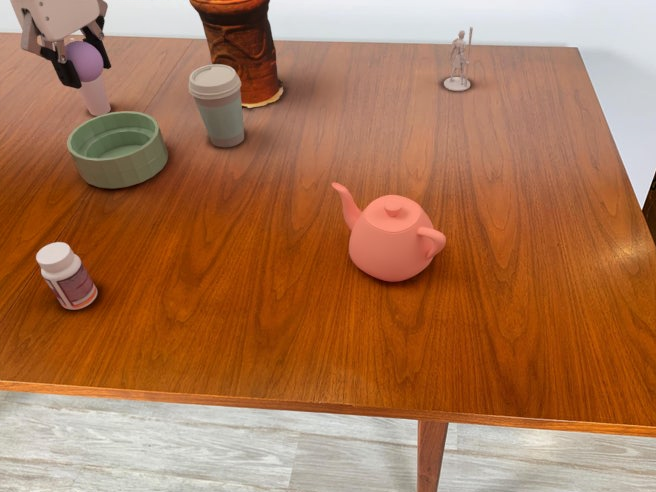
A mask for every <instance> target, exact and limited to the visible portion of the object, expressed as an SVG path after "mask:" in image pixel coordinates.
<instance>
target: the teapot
mask: <svg viewBox="0 0 656 492" xmlns="http://www.w3.org/2000/svg"><path fill="white" fill-rule="evenodd" d="M331 186H332V188H333V189H334V190H335V191H336V192H337V193H338V195H339V197H340V199H341V203H342V212H343V218H344V222H345V224H346V226H347V228H348V229H349V230H350V237H349V243H348V254H349V257H350V259H351V261H352V262H353V264H354V265H355V266H356V267H357V268H358V269H360V270H361V271H362V272H364V273H365V274H367V275H369V276H371V277H373V278H376V279H378V280H381V281H384V282H390V283H392V282H393V283H396V282H402V281H406V280H409V279H411V278H413V277H415V276H416V275H418V274H419V273H421V272H422V271H423V270H425V269H426V268H427V267H428V266H429V265H430V264H431V262H432V261H433V259H434V257H435V256H436V255H438V254H439V253H440V252H441V251H442V250H443V249H444V248H445V246H446V242H447V238H446V236H445V235H444V233H442V232H441V231H439V230H437V229H435V228H434V225H433V223H432V221H431V219H430V217H429V216H428V215H427V213H426V211H425V210H424V209H423V208H422V207H421V205H420V204H418V203H417V202H416V201H414V200H413V199H411V198H408V197H405V196H402V195H397V194H387V195H382V196H380V197H378V198H376V199H374V200H373V201H371V202H370V203H369V204H368V205H367V206H366V207H365V208H364V209H363V211H362V210H361V209H360V208H358V206H357V205H356V203H355V201H354V199H353V196H352V194H351V192H350V191H349V190H348V188H346V187H345V186H344V185H343V184H340V183H338V182H332V183H331Z"/></svg>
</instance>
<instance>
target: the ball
mask: <svg viewBox="0 0 656 492" xmlns="http://www.w3.org/2000/svg"><path fill="white" fill-rule="evenodd" d="M65 51H66V57H67V60H71V61H72V62H73V65H74V67H75V69H76V72H77V74H78V76H79V79H80V81H81V82H91V81H94V80H96V79H97V78H98V77H99V76H100V75H101V73H102V74H103V70H104V68H103V59H102V56H101V54H100V53H99V51H98V50H97V49H96V48H95V47H94V46H92V45H91V44H89V43H86V42H83V40H74V42H71V41H70V42H69V43H67V44H65Z"/></svg>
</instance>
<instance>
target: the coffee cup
mask: <svg viewBox="0 0 656 492" xmlns="http://www.w3.org/2000/svg"><path fill="white" fill-rule="evenodd" d="M188 81H189V82H188V92H189V93H190V95H192V97H193V100H194V102H195V104H196V107H197V109H198V112H199V114H200V117H201V119H202V122H203V125H204V126H205V129H206V132H207V134H208V136H209V139H210V141H211V143H212V144H213V145H214V146H216V147H218V148H231V147H235V146H237V145H240V144H241V143H242V142H243V141H244V139H245V129H244V117H243V115H244V114H243V106H242V104H241V93H240V87H241V81H240V78H239V76H238V75H237V74H236V72H235V70H234V69H233V68H232V67H230V66H227V65H221V64H214V65H213V64H207V65H204V66H201V67H198V68H196V69H195V70H193V71H192V72H191V73H190V75H189V77H188Z"/></svg>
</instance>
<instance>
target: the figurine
mask: <svg viewBox="0 0 656 492" xmlns="http://www.w3.org/2000/svg"><path fill="white" fill-rule="evenodd" d="M473 28H474V27H473V26H470V27H469V34H468V46H467V42H466V41H465V40H464V39H465V36H466V32H465V30H462V29H461V30H460V31H459V32H458V38H455V39H453V40H452V46H451V49H450V53H449V57H448V60H449V61H452V60H453V55H454V53H455V51H456V54H455V57H454V60H453V62H452V66H453V68H452V70H451V74H450V77H448V78H447V79H445V80H444V81H443V86H444V88H445V89H447V90H449V91H452V92H464V91H467V90H468V89H470V87H471V82H470V80H468V75H469V66H470V57H471V47H472V38H473ZM467 48H468V49H467ZM466 49H467V56H466V57H467V58H466V57H465V51H466ZM465 65H466V67H465ZM457 69H459V71H460V74H459V76H455V75H456V71H457ZM464 76H465V77H464Z"/></svg>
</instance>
